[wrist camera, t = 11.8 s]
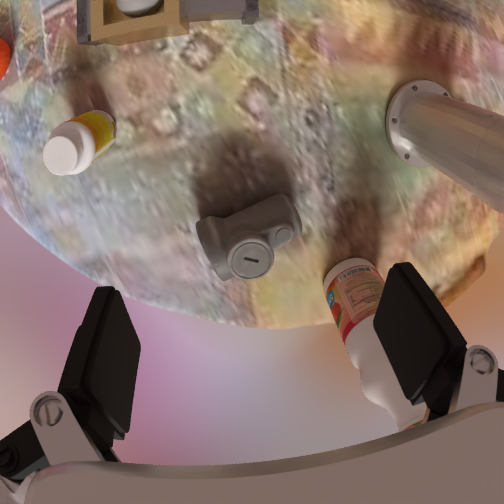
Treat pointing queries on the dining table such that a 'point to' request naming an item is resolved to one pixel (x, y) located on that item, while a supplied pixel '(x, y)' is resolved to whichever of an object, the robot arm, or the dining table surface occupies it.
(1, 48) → the clementine
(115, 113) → the dining table surface
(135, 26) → the valve body
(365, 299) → the fruit juice
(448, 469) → the robot arm
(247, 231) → the pipe fitting
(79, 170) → the supplement bottle
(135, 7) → the rook chess piece
